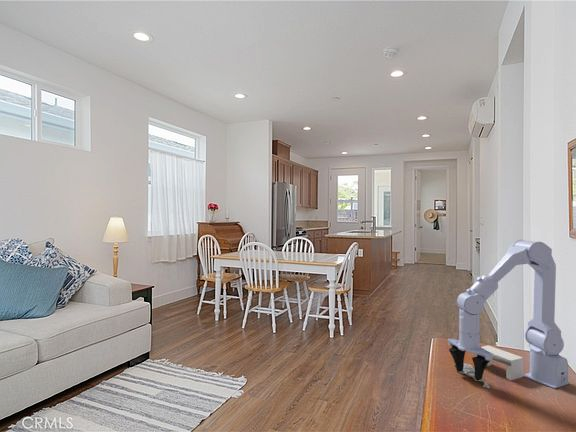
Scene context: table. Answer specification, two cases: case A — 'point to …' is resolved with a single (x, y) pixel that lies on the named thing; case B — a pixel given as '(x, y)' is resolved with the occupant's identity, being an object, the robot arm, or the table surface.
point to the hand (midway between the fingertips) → (468, 375)
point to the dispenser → (507, 362)
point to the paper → (472, 373)
